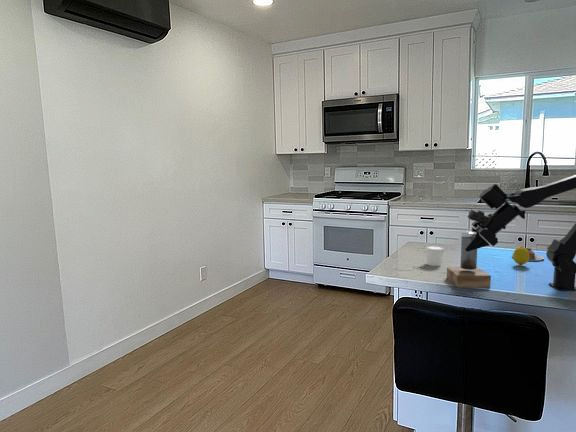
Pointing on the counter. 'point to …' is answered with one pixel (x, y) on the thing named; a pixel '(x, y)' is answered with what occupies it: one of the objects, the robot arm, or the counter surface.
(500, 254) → the counter surface
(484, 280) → the walnut block
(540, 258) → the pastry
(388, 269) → the counter surface
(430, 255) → the shot glass
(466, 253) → the tea tin
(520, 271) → the counter surface
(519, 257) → the lemon
